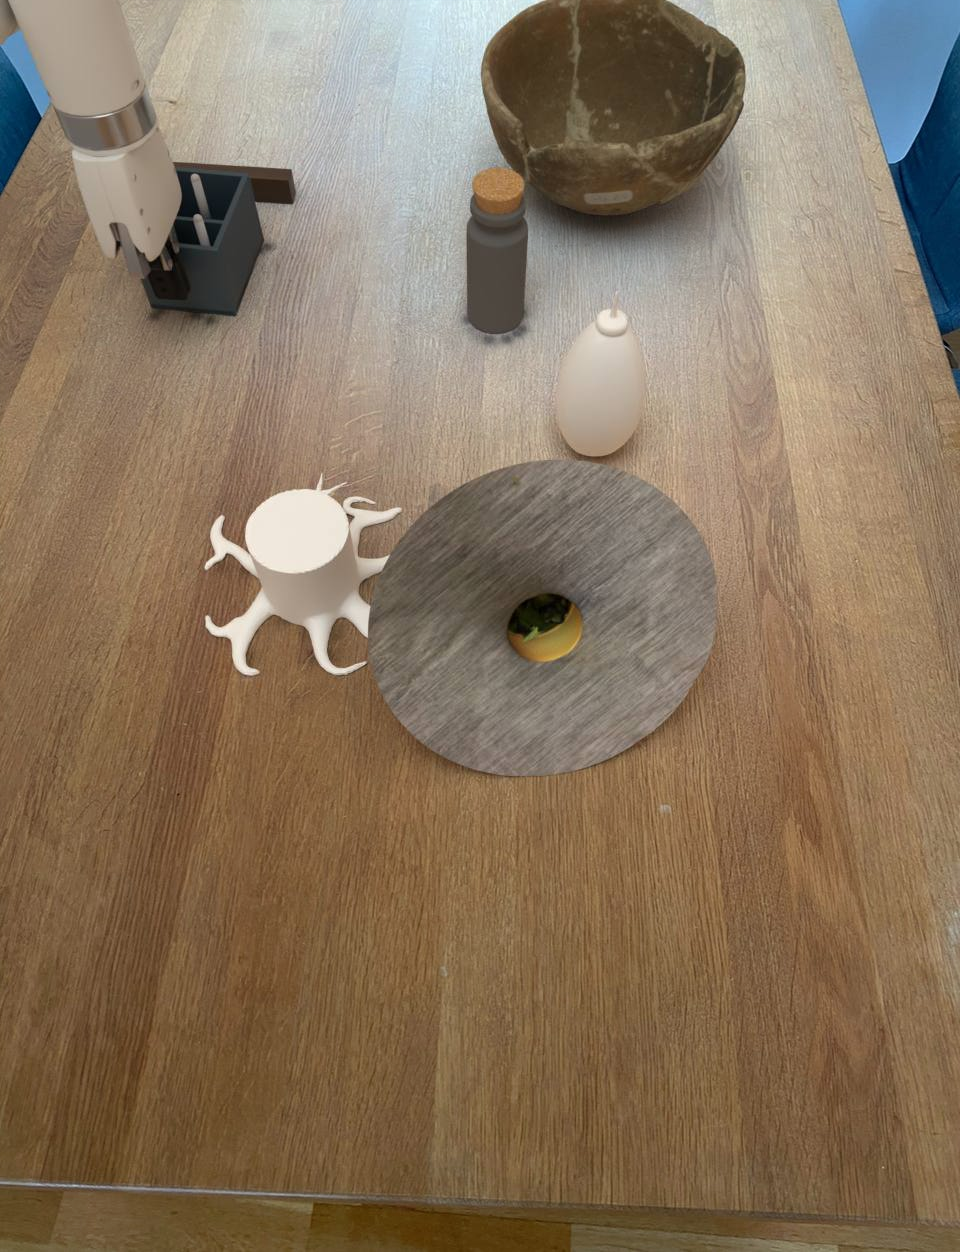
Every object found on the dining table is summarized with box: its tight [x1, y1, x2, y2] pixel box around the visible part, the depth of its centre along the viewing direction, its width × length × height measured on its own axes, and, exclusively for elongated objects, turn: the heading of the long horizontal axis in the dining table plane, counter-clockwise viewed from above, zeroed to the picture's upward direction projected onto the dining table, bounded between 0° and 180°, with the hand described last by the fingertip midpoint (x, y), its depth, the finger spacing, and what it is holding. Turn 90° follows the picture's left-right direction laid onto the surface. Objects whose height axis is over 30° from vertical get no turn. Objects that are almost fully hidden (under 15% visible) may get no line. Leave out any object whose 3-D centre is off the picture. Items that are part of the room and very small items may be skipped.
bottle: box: [466, 167, 529, 335], centre depth 91 cm, size 6×6×15 cm
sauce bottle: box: [554, 290, 647, 457], centre depth 81 cm, size 8×8×18 cm
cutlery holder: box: [139, 167, 265, 317], centre depth 96 cm, size 12×9×10 cm
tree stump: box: [204, 472, 404, 677], centre depth 77 cm, size 20×19×8 cm
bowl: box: [480, 0, 747, 216], centre depth 101 cm, size 28×27×15 cm
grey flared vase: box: [367, 459, 719, 777], centre depth 72 cm, size 25×18×25 cm
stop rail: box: [173, 161, 297, 205], centre depth 106 cm, size 2×16×3 cm, turn 85°
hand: (174, 293), depth 92 cm, fingers closed
